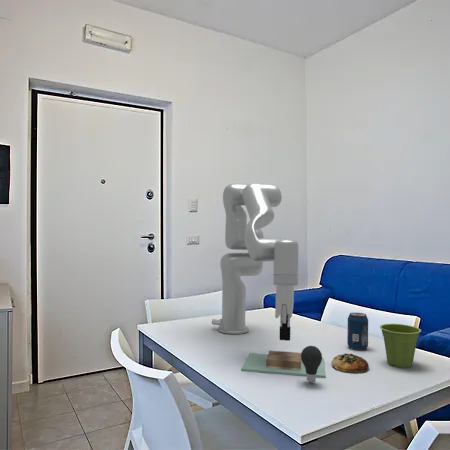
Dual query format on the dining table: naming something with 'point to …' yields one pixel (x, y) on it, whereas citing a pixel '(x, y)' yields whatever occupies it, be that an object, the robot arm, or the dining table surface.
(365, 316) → the soda can
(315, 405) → the dining table surface
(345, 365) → the bread roll
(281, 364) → the tan wooden block
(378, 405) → the dining table surface
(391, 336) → the plant pot
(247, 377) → the dining table surface
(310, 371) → the light bulb
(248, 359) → the rubber mat
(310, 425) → the dining table surface
